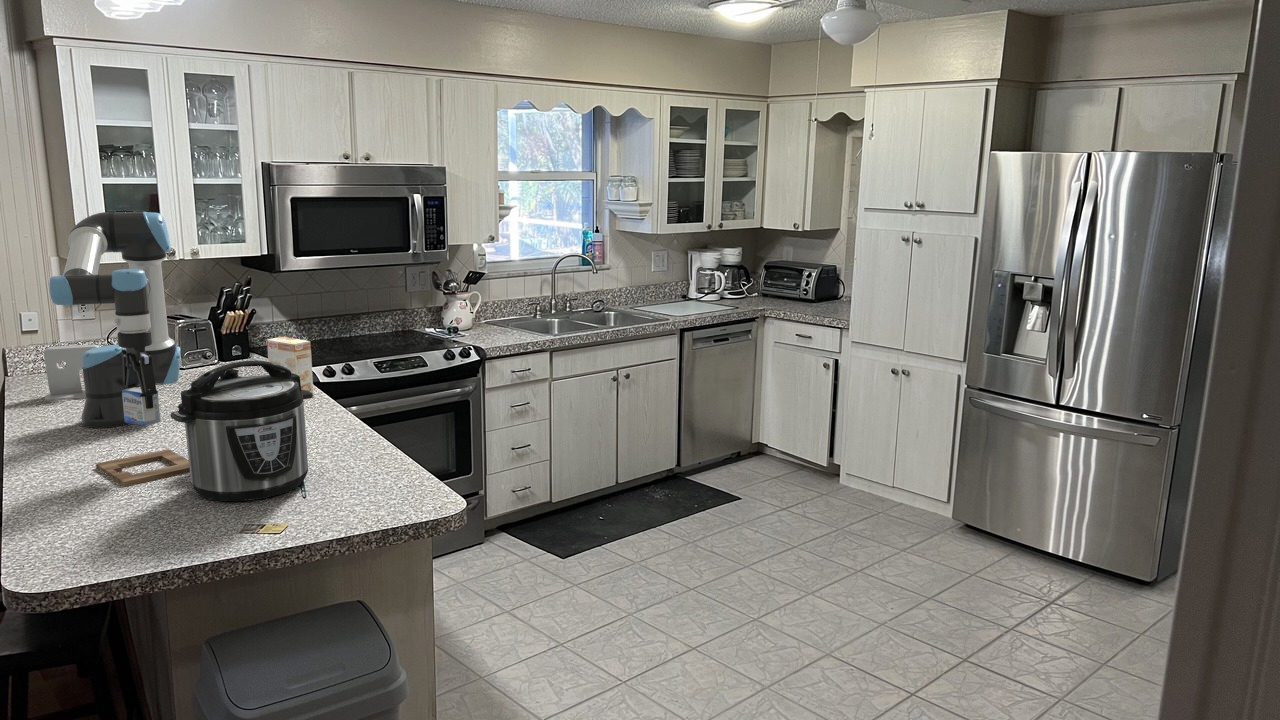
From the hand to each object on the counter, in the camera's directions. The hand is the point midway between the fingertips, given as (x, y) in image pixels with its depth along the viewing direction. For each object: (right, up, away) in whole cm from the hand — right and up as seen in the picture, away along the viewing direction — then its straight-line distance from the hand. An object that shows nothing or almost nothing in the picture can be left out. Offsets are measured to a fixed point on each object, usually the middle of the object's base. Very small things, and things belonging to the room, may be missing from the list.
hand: (142, 416), depth 234 cm
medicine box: (0, -2, 0) cm, 2 cm away
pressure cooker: (+32, -17, -8) cm, 37 cm away
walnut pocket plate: (0, -14, +3) cm, 14 cm away
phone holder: (-65, +2, +76) cm, 100 cm away
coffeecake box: (+7, +2, +82) cm, 83 cm away
